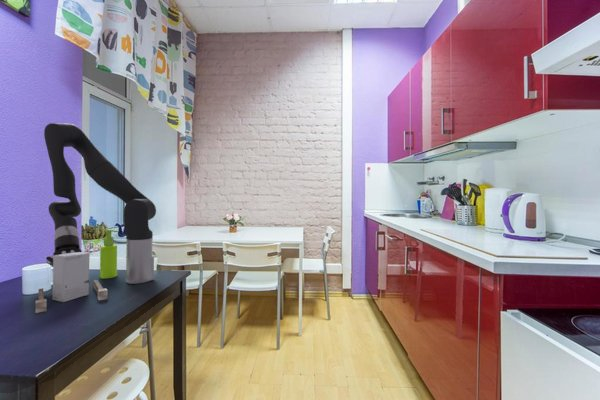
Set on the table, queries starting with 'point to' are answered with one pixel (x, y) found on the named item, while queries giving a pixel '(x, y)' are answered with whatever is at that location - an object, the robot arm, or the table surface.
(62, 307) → the table surface
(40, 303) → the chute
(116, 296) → the table surface
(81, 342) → the table surface
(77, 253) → the skincare box
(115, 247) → the soap dispenser
